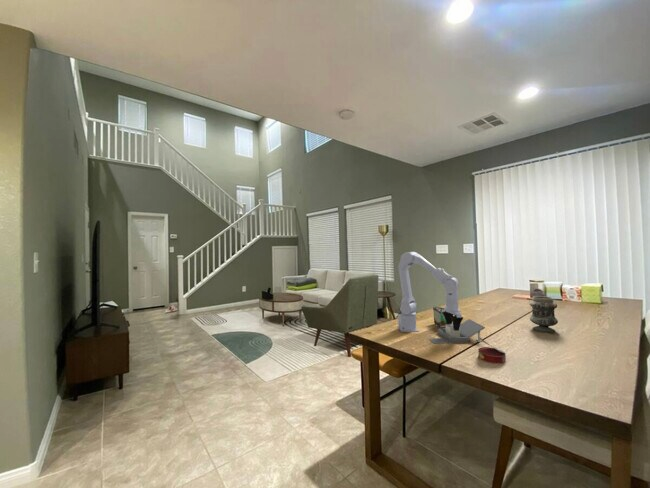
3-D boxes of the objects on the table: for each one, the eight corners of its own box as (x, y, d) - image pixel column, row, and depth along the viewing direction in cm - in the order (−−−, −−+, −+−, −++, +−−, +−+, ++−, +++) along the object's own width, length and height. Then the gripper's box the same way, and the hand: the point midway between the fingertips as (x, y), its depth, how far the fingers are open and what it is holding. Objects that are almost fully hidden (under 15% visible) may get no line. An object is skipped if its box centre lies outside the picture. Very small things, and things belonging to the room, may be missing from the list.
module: (450, 339, 139) (449, 326, 139) (445, 336, 144) (445, 323, 144) (460, 339, 139) (459, 326, 139) (455, 335, 144) (455, 323, 144)
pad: (434, 344, 134) (434, 343, 134) (428, 339, 141) (428, 338, 141) (449, 343, 134) (448, 343, 134) (442, 338, 141) (442, 338, 141)
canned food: (481, 364, 121) (480, 341, 125) (508, 368, 115) (506, 343, 119) (474, 360, 114) (474, 335, 118) (503, 363, 107) (501, 337, 112)
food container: (452, 329, 155) (452, 311, 155) (441, 329, 155) (441, 311, 155) (443, 322, 167) (443, 306, 167) (433, 323, 168) (432, 306, 167)
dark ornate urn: (547, 326, 155) (547, 294, 155) (564, 333, 143) (563, 299, 143) (524, 326, 157) (524, 295, 156) (539, 333, 145) (538, 299, 144)
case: (450, 343, 134) (450, 328, 134) (438, 333, 148) (437, 319, 148) (485, 342, 134) (485, 327, 134) (469, 332, 149) (469, 319, 149)
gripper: (467, 304, 134) (468, 332, 134) (453, 298, 149) (453, 323, 149) (452, 304, 134) (453, 332, 134) (440, 298, 148) (440, 324, 149)
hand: (452, 328), depth 141 cm, fingers open, 7 cm apart
